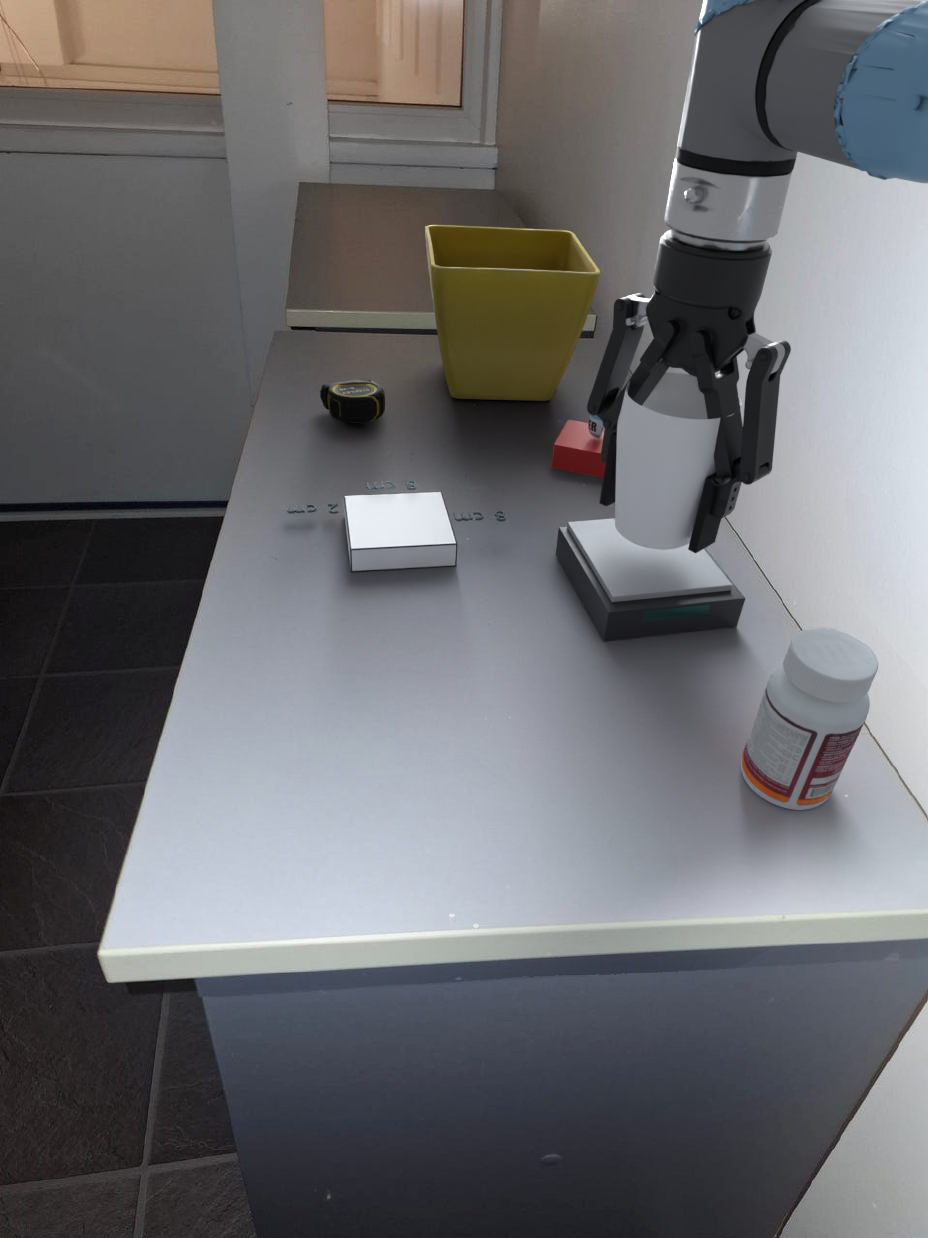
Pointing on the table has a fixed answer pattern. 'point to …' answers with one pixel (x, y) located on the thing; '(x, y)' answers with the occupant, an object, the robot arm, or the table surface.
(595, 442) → the red rectangular block
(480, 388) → the flower pot
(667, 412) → the cup
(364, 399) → the tape measure
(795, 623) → the table surface
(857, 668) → the pill bottle
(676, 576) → the scale
